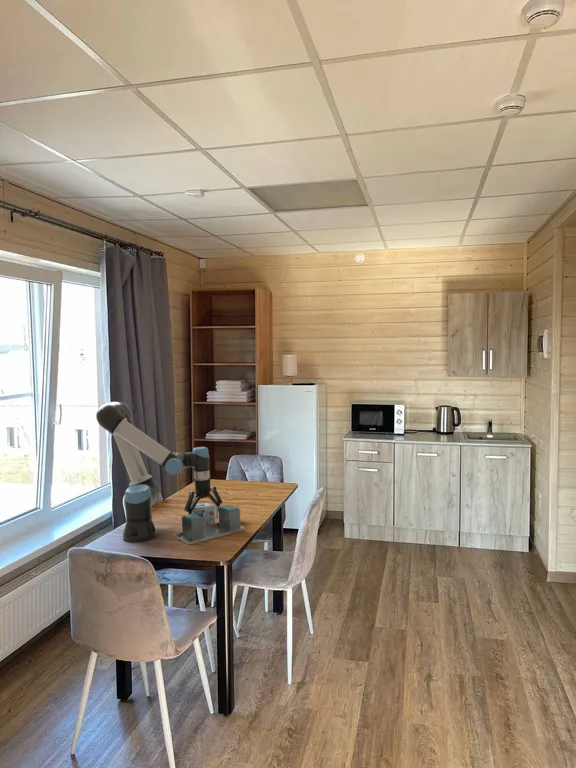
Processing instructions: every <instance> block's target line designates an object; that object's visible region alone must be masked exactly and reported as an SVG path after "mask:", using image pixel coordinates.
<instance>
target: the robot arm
mask: <svg viewBox="0 0 576 768" xmlns="http://www.w3.org/2000/svg"><path fill="white" fill-rule="evenodd" d="M95 417H96V422H97V423H98V424H99V425H100V427H102V428H103V429H104V430H106V431H107V432H108V433H109V434H110V435H112V436H113V437H114V440H115V443H116V446H117V448H118V451H119V453H120V456H121V458H122V461H123V464H124V466H125V469H126V472H127V474H128V477H129V479H130V482H129V484H128V486H129V487H127V488H126V490H125V491H124V503H125V526H124V530H123V533H122V540H123V541H125V542H128V543H130V542H131V543H139V542H145V541H146V542H147V541H150V540H152V539H154V538H156V537H157V528H156V526H155V524H154V521H153V516H152V515H153V512H152V510H153V509H152V506H154V505H155V504H156V503H157V502H158V501H159V497H160V495H161V488H160V486H159V484H158V483H157V482H155V481H154V478H153V475H152V474H149V473H148V471H147V469H146V466H145V462H144V460H143V458H142V455H141V453H143V454H144V455H146V456H147V457H148V458H149V459H152V461H154V462H156V463H157V464H158V465H160V466H161V467H162V468H163V467H164V469H165V472H166V473H167V474H168V475H172V476H176V475H178V474H180V473H181V472H182V471H184V469H187V468H193V474H194V475H193V476H194V478H193V479H194V487H195V488H194V489H195V490H189V493H188V498H187V502H185V503H186V504H185V507H184V509H183V510H184V511H185V512H186V513H187V512H188V514H192V513H194V512H193V509H194V508H195V506H196V504H199V503H198V502H199V501H201V500H202V499H205V498H208V499H209V500H210V501H211V503H214V507H215V520H219V508H220V507H221V504H223V500H222V498H221V496H220V495H219V492H218V490H217V487H216V486H215V485H211V479H210V478H211V474H210V473H211V472H210V455H209V449H208V447H206V446H199V447H198V446H197V447H193V449H192V451H187V452H183V451H182V452H177V451H176V452H172V451H170V450H169V449H167V448H166V447H165V446H163V445H162V444H160V443H159V442H158V441H156V440H154V439H153V438H151V437H150V436H149V435H147V434H146V433H144V432H143V431H141V430H140V429H139V428H138V427H136V426H135V425H133V423H132V421H131V409H130V408H129V406H128V405H127V404H126V403H124V402H122V401H116V400H115V401H110V402H108V403H104V404H102V405H101V406H100V407H99V408H98V409H97V412H96V414H95ZM140 452H141V453H140ZM211 492H212V494H213V495H214V496H213V495H212V494H211ZM188 514H187V515H188Z"/></svg>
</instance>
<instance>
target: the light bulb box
mask: <svg viewBox="0 0 576 768" xmlns="http://www.w3.org/2000/svg"><path fill="white" fill-rule="evenodd" d="M214 505H215V504H214V503H213V502H205V503H204V502H203V503H197V504H196V506H195V508H194V509H193V512H194V514H196V515H199V516H201V517H202V518H203V520H204V526H206V525H210V524H214V523H216V521H215V520H216V519H215V507H214Z"/></svg>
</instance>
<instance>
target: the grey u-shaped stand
mask: <svg viewBox="0 0 576 768" xmlns="http://www.w3.org/2000/svg"><path fill="white" fill-rule="evenodd" d="M238 508H239V507H237V506H234V505H230V504H227V505H222V506H219V512H218V522H215V523H214V524H210V525H206V526H204V520H203V518H202V517H201V516H199V515H196V514H194V513H192V514H185V515H182V516H181V528H182V529H181V531H180V532H176V540H178V539H179V541H180V540H181V541H180V542H182V541H183V542H182V543H185V544H187V543H188V544H187V545H189V544H192V545H194V543H196V544H198V542H199V543H202V542H201V541H203V542H206V541H209V539H210V540H213V538H214V539H216V538H220V537H224V536H228V535H232V534H235V533H240V532H241V531H246V526H242V525H241V509H238ZM231 533H232V534H231ZM205 540H206V541H205Z"/></svg>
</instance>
